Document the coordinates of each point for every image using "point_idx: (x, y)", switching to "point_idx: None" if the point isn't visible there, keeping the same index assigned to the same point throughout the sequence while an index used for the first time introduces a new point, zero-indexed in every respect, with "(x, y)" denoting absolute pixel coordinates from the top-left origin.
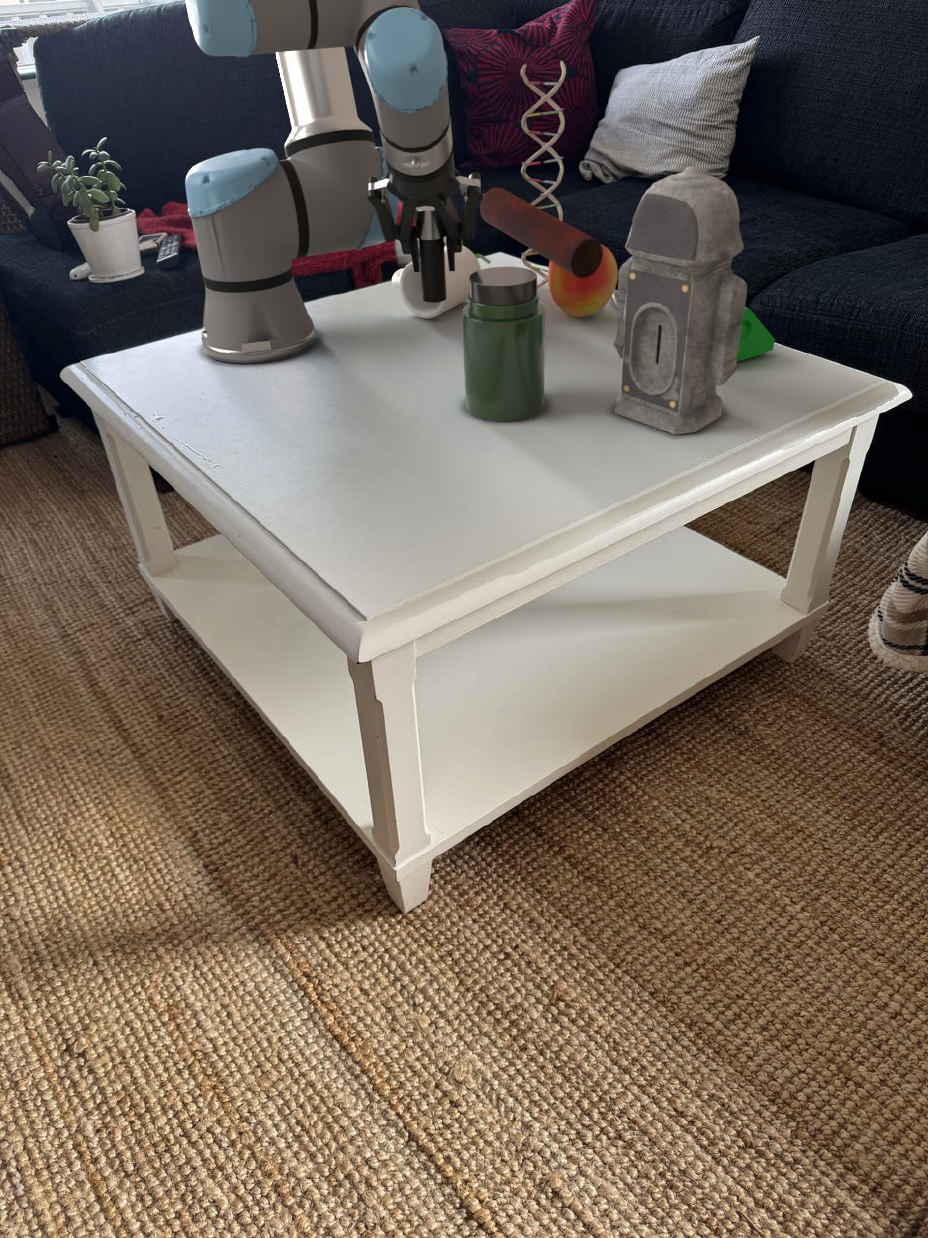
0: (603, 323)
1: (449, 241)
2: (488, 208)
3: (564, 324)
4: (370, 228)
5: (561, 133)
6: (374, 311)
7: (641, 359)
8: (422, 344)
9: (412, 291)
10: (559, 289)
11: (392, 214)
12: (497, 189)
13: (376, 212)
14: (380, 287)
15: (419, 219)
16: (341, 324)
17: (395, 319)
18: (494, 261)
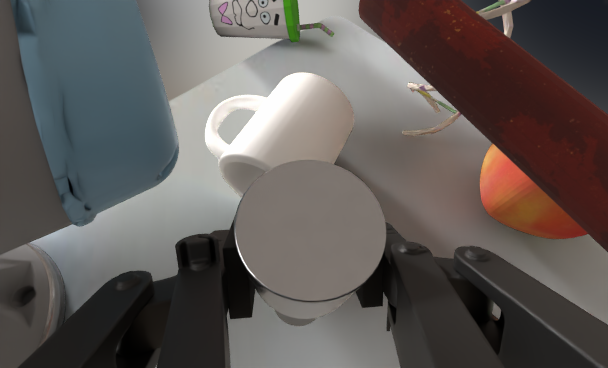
0: (553, 242)
1: (374, 298)
2: (383, 10)
3: (495, 245)
4: (77, 223)
5: None
6: (184, 178)
7: None
8: (273, 347)
9: (242, 166)
10: (523, 221)
11: (153, 167)
12: None
13: (70, 197)
14: (194, 90)
15: (267, 296)
16: (124, 234)
17: (218, 214)
18: (334, 26)
